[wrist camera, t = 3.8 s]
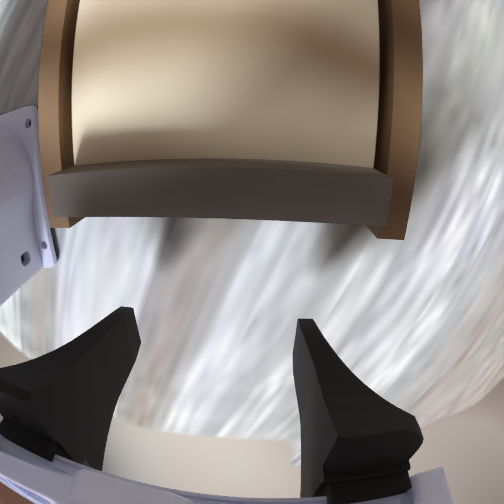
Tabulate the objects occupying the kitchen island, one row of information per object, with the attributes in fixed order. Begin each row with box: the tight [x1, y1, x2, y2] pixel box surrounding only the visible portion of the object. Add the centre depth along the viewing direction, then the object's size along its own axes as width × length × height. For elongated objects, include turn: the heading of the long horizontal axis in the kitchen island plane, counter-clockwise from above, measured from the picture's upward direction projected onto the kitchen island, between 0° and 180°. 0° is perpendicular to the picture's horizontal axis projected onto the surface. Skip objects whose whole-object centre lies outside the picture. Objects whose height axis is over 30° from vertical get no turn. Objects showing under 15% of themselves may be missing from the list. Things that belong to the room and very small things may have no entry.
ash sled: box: [47, 0, 393, 227], centre depth 8 cm, size 12×12×4 cm
